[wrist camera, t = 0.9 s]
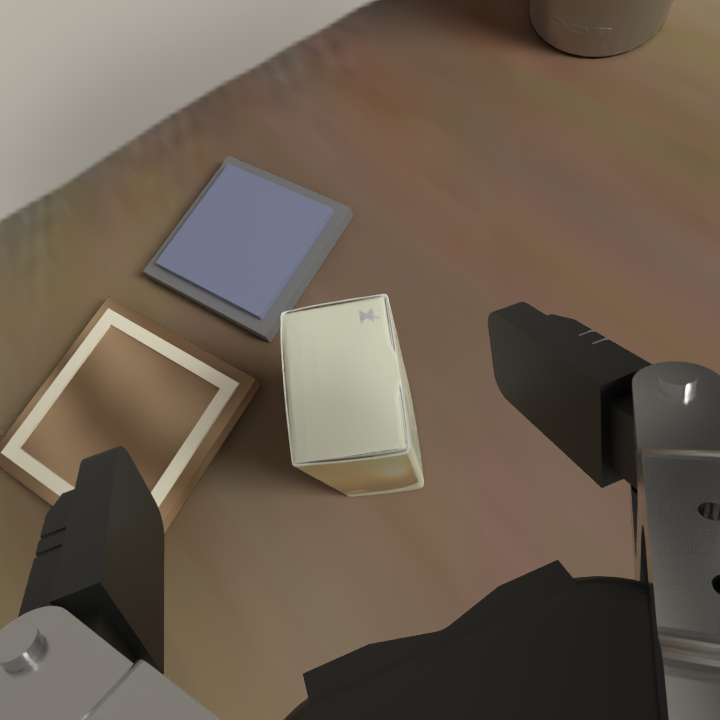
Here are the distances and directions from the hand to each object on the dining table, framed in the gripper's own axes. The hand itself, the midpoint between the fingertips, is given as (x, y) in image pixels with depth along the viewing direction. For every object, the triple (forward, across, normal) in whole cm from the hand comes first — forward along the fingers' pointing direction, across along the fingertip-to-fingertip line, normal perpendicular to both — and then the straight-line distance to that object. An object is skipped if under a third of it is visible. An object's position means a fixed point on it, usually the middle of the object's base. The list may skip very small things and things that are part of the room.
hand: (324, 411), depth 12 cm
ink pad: (+27, -1, +4) cm, 27 cm away
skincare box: (+15, -4, +13) cm, 20 cm away
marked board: (+22, +10, +10) cm, 26 cm away
